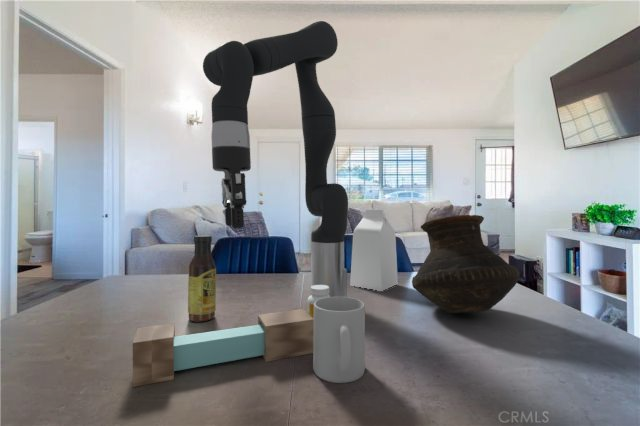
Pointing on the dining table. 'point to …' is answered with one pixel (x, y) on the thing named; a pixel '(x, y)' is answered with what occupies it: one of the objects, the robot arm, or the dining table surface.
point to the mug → (339, 339)
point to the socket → (153, 354)
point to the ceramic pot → (462, 267)
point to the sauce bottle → (202, 282)
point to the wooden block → (287, 334)
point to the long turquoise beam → (218, 346)
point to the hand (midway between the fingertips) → (234, 226)
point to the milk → (374, 253)
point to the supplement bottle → (316, 297)
